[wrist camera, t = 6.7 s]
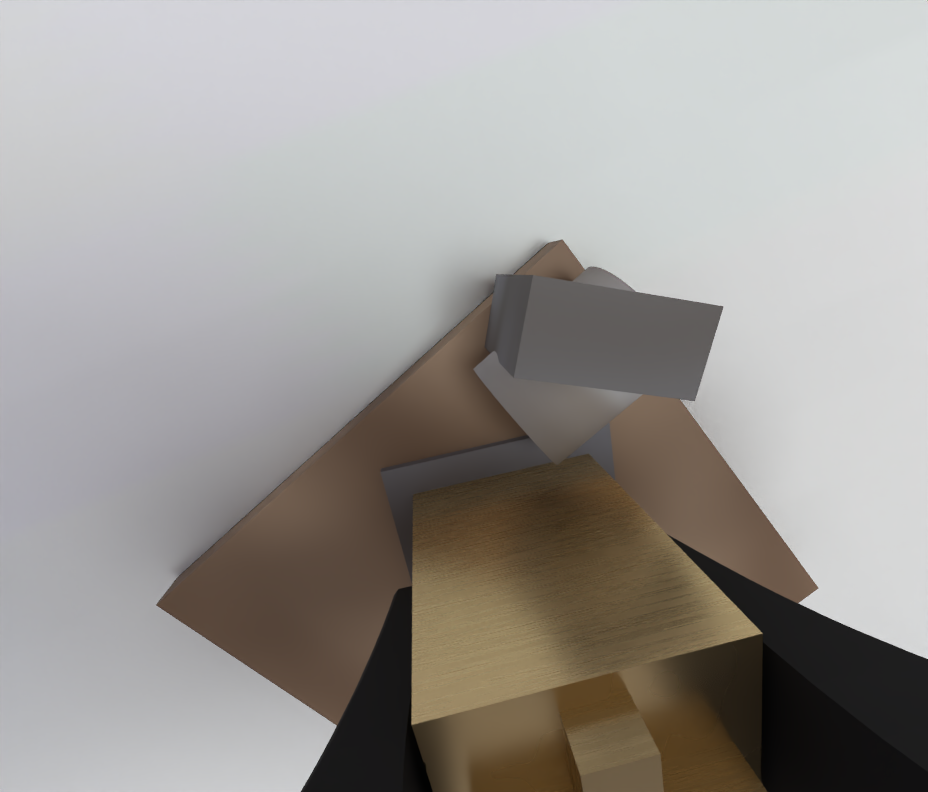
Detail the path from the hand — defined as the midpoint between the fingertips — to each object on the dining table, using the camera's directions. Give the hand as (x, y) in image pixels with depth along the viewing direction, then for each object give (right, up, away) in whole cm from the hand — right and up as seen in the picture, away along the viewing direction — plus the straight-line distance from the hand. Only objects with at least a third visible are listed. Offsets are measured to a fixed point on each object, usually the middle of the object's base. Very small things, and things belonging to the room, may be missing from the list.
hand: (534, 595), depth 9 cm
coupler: (0, 0, +2) cm, 2 cm away
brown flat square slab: (0, -1, +3) cm, 3 cm away
